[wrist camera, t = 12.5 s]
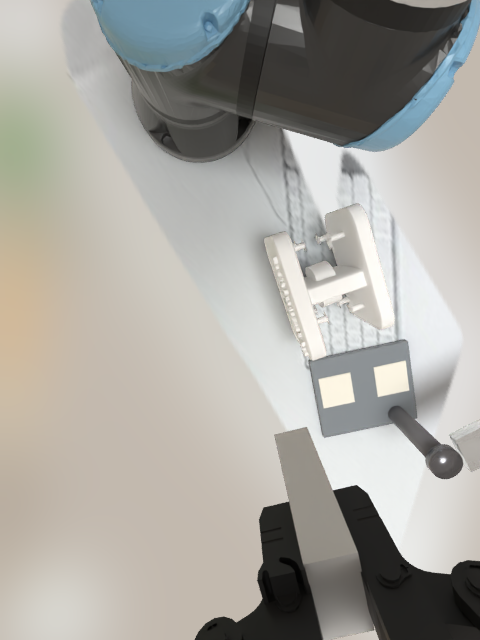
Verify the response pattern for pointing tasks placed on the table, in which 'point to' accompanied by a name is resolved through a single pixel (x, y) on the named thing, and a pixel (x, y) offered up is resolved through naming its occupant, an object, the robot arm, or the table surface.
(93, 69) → the table surface
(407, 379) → the label board
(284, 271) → the cable organizer
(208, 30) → the robot arm
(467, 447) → the grey lever handle
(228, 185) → the table surface
